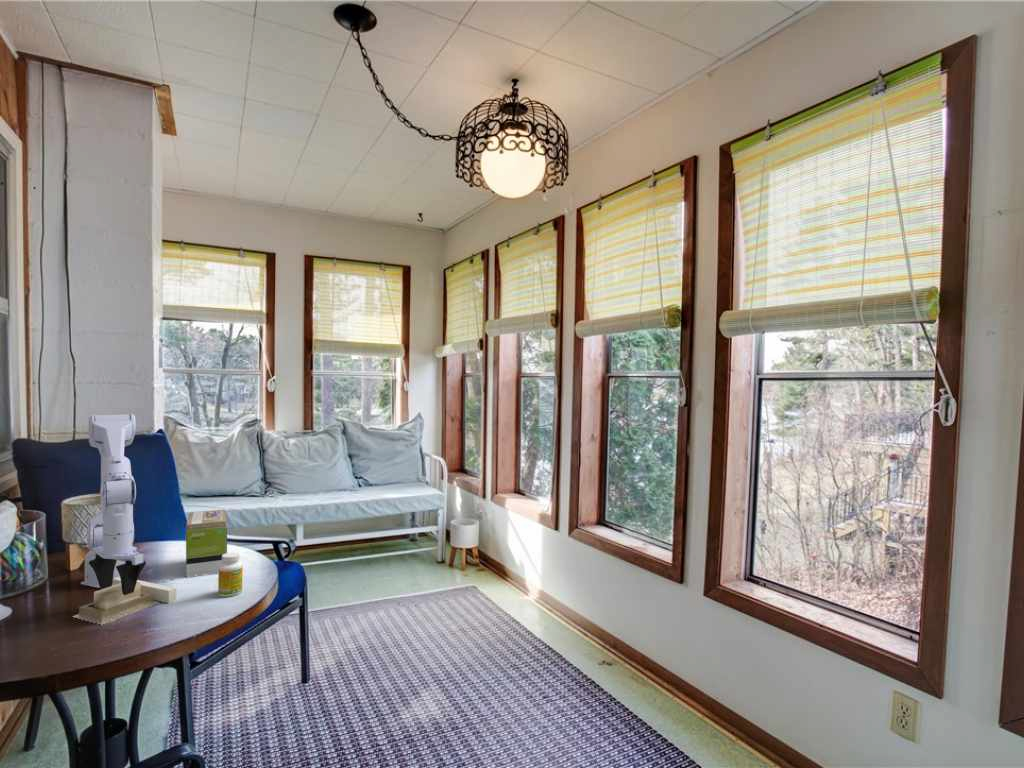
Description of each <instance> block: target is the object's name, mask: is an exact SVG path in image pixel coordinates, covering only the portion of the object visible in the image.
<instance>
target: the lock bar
mask: <svg viewBox="0 0 1024 768" xmlns="http://www.w3.org/2000/svg"><path fill="white" fill-rule="evenodd" d="M139 597H141V583H139V582H137V583H136V586H135V589H134V592H133V593H130V594H128V595H123V593H122V586H121V583H120V584H117V585H114V586H111V587H108V588H105V589H100V590H95V591H94V592H93V602H94V608H96V609H101V610H106V609H108V608H111V607H114V606H117V605H120V604H122V603H125V602H128V601H131V600H133V599H136V598H139Z"/></svg>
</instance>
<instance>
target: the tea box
mask: <svg viewBox="0 0 1024 768" xmlns="http://www.w3.org/2000/svg"><path fill="white" fill-rule="evenodd" d="M186 521H187V522H186V525H185V573H186V574H185V576H193V577H196V576H195V575H201V576H203V575H202V574H209V575H211V574H210V573H216V574H219V573H218V572H219V566H220V564H222V563H223V562H222V555H223V554H226V553H228V526H227V525H228V524H227V510H226V509H225V508H224V509H215V510H205V511H195V512H189V513H188V518H187V520H186Z"/></svg>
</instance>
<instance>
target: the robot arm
mask: <svg viewBox="0 0 1024 768" xmlns="http://www.w3.org/2000/svg"><path fill="white" fill-rule="evenodd" d="M87 425H88V430H87V431H88V443H89V446H90V447H93V448H95V449H98V452H99V455H100V493H99V494H100V511H98V513H96V514H94V516H91V518H90V519H89V520H88V521H87V531H86V532H87V533H86V538H87V539H86V540H87V541H86V544H87V545H86V549H88V550H89V551H88V552H87V554H86V555H85V557H84V581H81V582H80V585H83V586H87V587H88V586H89V587H92V588H95V589H96V588H97V589H100V590H101V589H105V588H108V587H111V586H112V583H113V579H114V578H117V577H120V579H121V586H122V593H123V595H128V594H130V593H133V592H134V589H135V586H136V583H137V580H138V579H139V577H140V574H141V572H142V570H143V569H144V567H145V566H146V565H147V562H146V560H144V554H143V553H140V552H139V551H137V550H138V548H137V546H134V545H133V543H134V541H135V525H134V504H135V503H136V502H135V501H136V497H137V487H136V482H135V478H134V476H133V475H132V465H131V460H130V459H129V458H128V457H126V456H125V447H127V446H131V445H132V443H133V441H134V438H135V435H136V427H137V426H136V416H135V415H134V413H129V414H128V413H127V414H91V415H89V416H88V424H87Z"/></svg>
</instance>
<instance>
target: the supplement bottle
mask: <svg viewBox="0 0 1024 768" xmlns="http://www.w3.org/2000/svg"><path fill="white" fill-rule="evenodd" d="M240 557H241V556H240V553H239V552H227V553H226V554H223V555H222V562H223V563H222V564H220V566H219V573H218V578H217V579H218V581H217V582H218V583H217V585H218V588H217V589H218V591H217V592H218V593H217V594H218V596H219V597H224V598H230V597H235V596H238V595H240V594H241V593H242V592H243V569H244V568H243V567H244V566H243V563H242V562H241V561H240Z"/></svg>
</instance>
